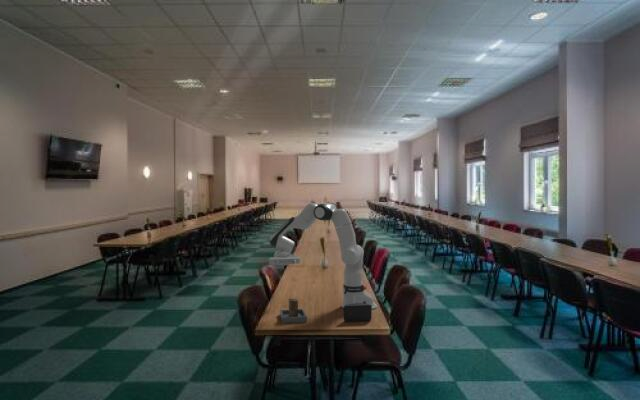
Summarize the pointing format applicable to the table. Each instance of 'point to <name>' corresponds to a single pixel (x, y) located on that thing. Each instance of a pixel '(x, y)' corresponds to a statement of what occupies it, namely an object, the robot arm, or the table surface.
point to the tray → (286, 319)
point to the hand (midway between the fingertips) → (286, 262)
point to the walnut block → (293, 307)
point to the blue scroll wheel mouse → (357, 312)
